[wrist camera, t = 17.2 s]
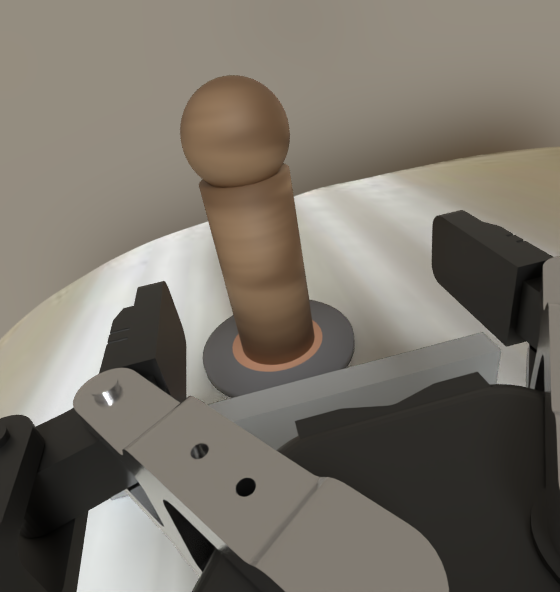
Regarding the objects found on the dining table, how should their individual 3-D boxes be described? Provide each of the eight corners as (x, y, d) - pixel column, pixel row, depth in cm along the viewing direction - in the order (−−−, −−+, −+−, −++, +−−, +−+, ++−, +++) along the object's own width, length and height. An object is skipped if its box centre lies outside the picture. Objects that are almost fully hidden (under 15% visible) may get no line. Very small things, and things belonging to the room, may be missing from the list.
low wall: (111, 499, 21) (86, 460, 19) (115, 473, 22) (92, 434, 20) (494, 394, 22) (501, 349, 21) (478, 375, 23) (482, 331, 22)
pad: (240, 302, 34) (238, 295, 34) (366, 308, 31) (365, 301, 30) (177, 392, 26) (174, 384, 26) (335, 414, 23) (334, 406, 22)
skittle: (255, 314, 31) (200, 76, 23) (327, 318, 29) (295, 60, 21) (224, 363, 27) (142, 93, 19) (306, 372, 25) (255, 76, 17)
